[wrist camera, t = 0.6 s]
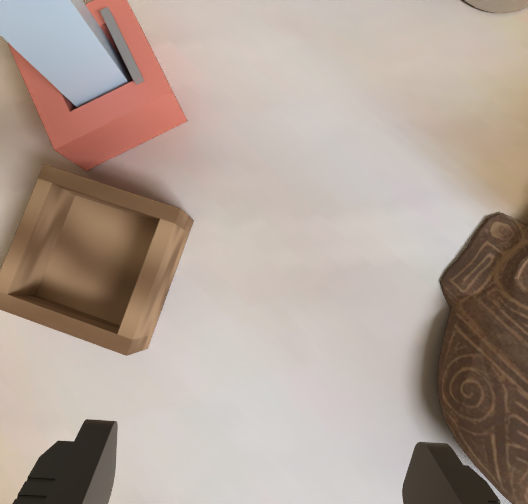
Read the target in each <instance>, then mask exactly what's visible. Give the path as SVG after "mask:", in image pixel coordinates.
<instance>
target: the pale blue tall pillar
mask: <svg viewBox="0 0 528 504" xmlns="http://www.w3.org/2000/svg"><path fill="white" fill-rule="evenodd" d="M0 36H2V37H3V38H4V39H5V40H6V41H7V42H8V43H9V44H10V45H11V46H12V47H13V48H14V49H15V50H16V51H18V52H19V53H20V54H21V55H22V56H23V57H24V58H25V59H26V60H27V61H28V62H29V63H30V64H31V65H32V66H34V67H35V68H36V69H37V70H38V71H39V72H40V73H41V74H42V75H43V76H44V77H45V78H46V79H47V80H48V81H49V82H51V83H52V84H53V85H54V86H55V87H56V88H57V89H58V90H59V91H60V92H61V93H62V94H63V95H64V96H65V97H67V98H68V99H69V100H70V101H71V102H72V103H73V104H74V105H75V106H76V107H77V108H79V107H81V106H83V105H85V104H87V103H89V102H91V101H93V100H95V99H97V98H99V97H101V96H103V95H105V94H107V93H109V92H111V91H113V90H115V89H117V88H119V87H121V86H124V85H126V84H128V83H130V82H132V81H133V80H132V77H131V75H130V73H129V71H128V69H127V67H126V65H125V63H124V62H123V60H122V59H121V57H120V56H119V54H118V53H117V51H116V50H115V48H114V47H113V45H112V44H111V42H110V41H109V39H108V38H107V36H106V35H105V33H104V32H103V30H102V29H101V27H100V26H99V24H98V23H97V21H96V20H95V18H94V17H93V15H92V14H91V12H90V11H89V9H88V8H87V6H86V5H85V3H84V2H83V0H0Z"/></svg>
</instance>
